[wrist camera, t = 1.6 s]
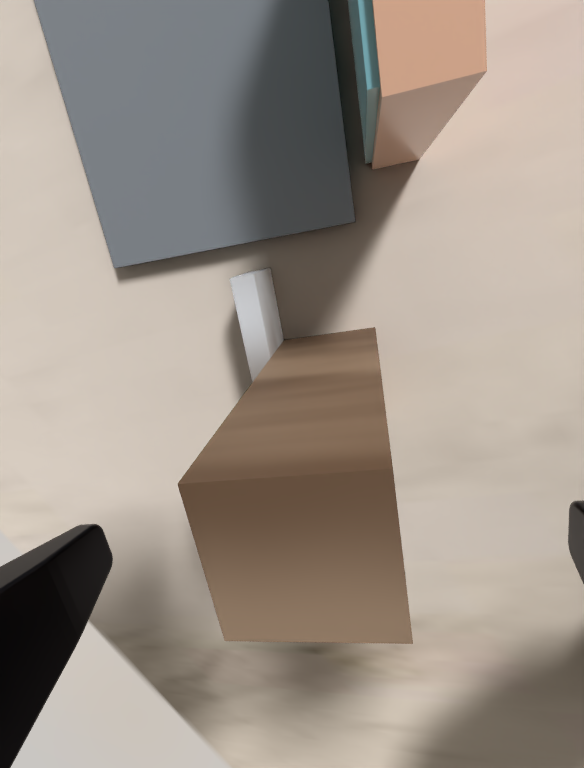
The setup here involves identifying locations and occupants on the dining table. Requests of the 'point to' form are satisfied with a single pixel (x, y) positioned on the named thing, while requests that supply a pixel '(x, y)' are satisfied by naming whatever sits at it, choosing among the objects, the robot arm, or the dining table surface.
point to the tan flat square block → (413, 70)
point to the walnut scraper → (301, 490)
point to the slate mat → (202, 119)
